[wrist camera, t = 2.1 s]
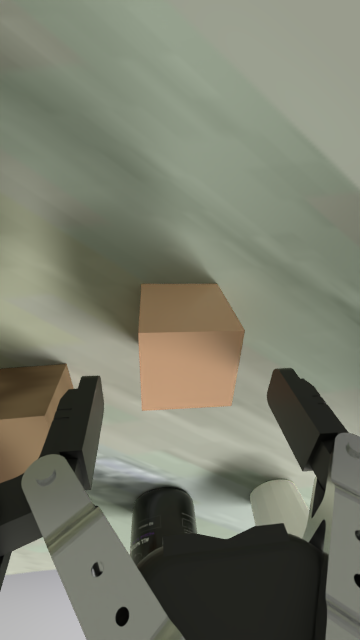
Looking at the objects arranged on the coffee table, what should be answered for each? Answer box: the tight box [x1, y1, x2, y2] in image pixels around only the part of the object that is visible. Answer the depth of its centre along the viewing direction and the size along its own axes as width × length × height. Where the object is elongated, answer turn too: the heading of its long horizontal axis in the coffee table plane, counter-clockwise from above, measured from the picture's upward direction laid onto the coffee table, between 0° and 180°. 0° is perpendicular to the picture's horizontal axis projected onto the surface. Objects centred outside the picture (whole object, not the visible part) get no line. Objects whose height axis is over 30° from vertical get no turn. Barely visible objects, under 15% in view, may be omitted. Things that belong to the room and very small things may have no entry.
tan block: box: [138, 284, 245, 411], centre depth 16 cm, size 5×5×6 cm
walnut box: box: [0, 364, 73, 483], centre depth 20 cm, size 8×8×5 cm
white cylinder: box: [250, 479, 309, 538], centre depth 29 cm, size 7×7×7 cm
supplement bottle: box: [130, 488, 197, 566], centre depth 25 cm, size 7×7×12 cm
